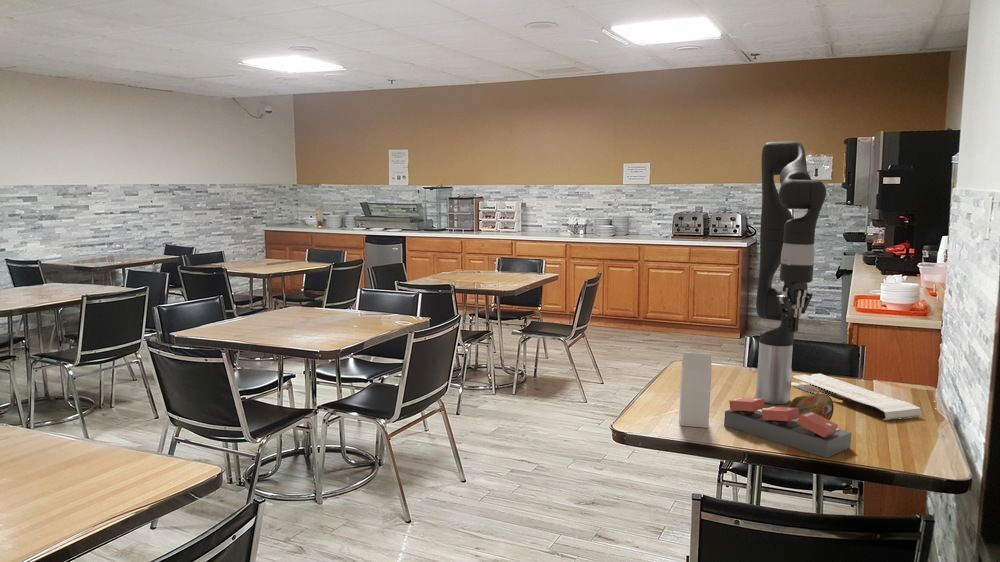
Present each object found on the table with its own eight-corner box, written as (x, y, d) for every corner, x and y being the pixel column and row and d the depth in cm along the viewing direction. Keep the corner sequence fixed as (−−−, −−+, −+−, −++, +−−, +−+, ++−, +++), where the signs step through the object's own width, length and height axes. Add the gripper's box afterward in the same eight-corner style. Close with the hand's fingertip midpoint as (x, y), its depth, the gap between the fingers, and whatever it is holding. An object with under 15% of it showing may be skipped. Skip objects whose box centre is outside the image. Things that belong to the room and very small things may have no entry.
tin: (794, 431, 187) (796, 400, 186) (784, 428, 190) (786, 396, 189) (833, 423, 194) (836, 393, 193) (823, 420, 197) (825, 390, 196)
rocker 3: (808, 420, 178) (811, 410, 177) (835, 433, 173) (837, 424, 172) (797, 423, 175) (800, 414, 174) (824, 437, 170) (827, 428, 169)
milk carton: (708, 428, 188) (712, 356, 186) (680, 426, 190) (683, 355, 187) (706, 420, 195) (710, 350, 193) (679, 417, 197) (682, 349, 194)
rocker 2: (773, 416, 185) (772, 406, 185) (799, 417, 180) (798, 407, 180) (762, 419, 182) (761, 409, 182) (788, 421, 177) (787, 410, 177)
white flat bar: (818, 370, 237) (923, 407, 200) (817, 382, 238) (922, 420, 201) (787, 373, 233) (888, 410, 196) (786, 384, 234) (887, 424, 197)
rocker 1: (741, 406, 193) (740, 397, 193) (765, 407, 187) (763, 398, 187) (730, 410, 190) (729, 400, 190) (753, 411, 184) (752, 401, 184)
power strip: (748, 418, 198) (749, 401, 197) (850, 448, 176) (851, 429, 175) (724, 425, 191) (725, 408, 190) (826, 458, 169) (828, 438, 168)
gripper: (797, 259, 184) (792, 326, 187) (768, 262, 176) (763, 332, 179) (825, 262, 179) (820, 331, 181) (796, 265, 171) (791, 337, 173)
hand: (792, 331), depth 180 cm, fingers closed
